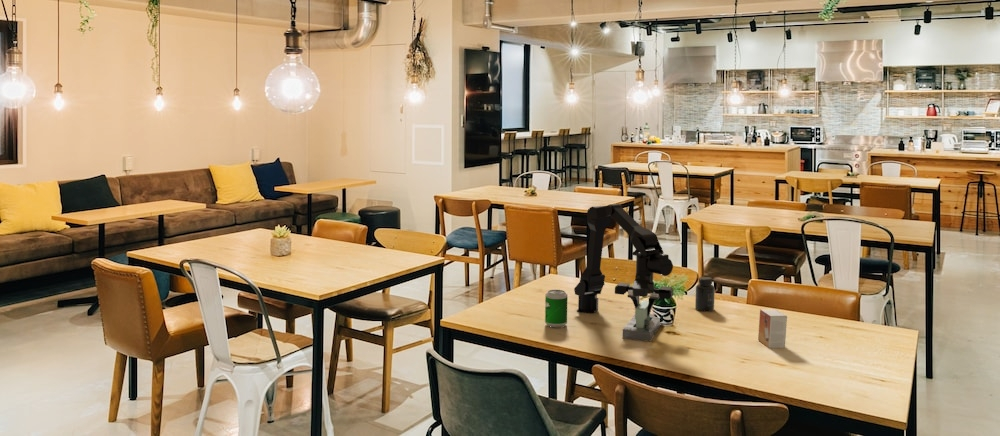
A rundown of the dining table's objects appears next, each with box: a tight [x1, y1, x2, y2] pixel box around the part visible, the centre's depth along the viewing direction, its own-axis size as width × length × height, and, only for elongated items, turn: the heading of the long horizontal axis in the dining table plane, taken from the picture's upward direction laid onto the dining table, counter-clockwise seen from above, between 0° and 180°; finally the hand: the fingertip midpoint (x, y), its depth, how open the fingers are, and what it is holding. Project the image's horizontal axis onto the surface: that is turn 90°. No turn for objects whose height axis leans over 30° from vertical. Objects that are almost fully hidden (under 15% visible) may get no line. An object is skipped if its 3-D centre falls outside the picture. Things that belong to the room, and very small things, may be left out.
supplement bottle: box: [694, 276, 716, 312], centre depth 288 cm, size 7×7×12 cm
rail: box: [622, 313, 661, 342], centre depth 261 cm, size 9×22×3 cm, turn 159°
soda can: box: [544, 289, 568, 328], centre depth 266 cm, size 8×8×12 cm
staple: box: [634, 299, 651, 328], centre depth 260 cm, size 3×12×8 cm, turn 159°
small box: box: [757, 308, 788, 349], centre depth 247 cm, size 8×6×10 cm
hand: (643, 315), depth 260 cm, fingers closed on staple, 3 cm apart
